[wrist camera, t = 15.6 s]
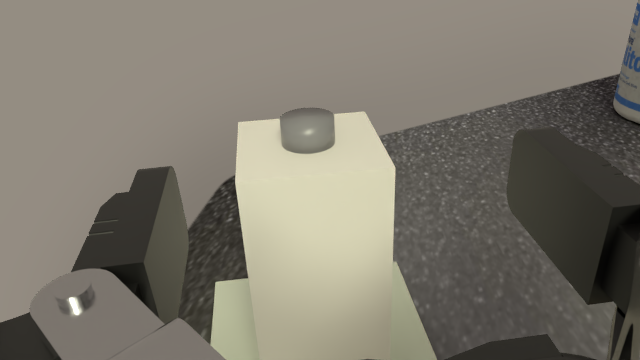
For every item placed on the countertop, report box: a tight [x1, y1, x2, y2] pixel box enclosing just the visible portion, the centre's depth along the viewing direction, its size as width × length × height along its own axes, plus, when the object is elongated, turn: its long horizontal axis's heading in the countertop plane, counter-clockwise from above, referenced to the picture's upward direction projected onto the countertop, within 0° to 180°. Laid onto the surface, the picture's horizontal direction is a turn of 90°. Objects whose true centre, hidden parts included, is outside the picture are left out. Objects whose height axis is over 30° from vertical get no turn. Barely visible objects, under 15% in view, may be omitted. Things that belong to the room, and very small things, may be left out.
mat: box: [211, 262, 437, 360], centre depth 30 cm, size 12×12×1 cm
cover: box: [235, 108, 395, 360], centre depth 26 cm, size 6×6×13 cm
